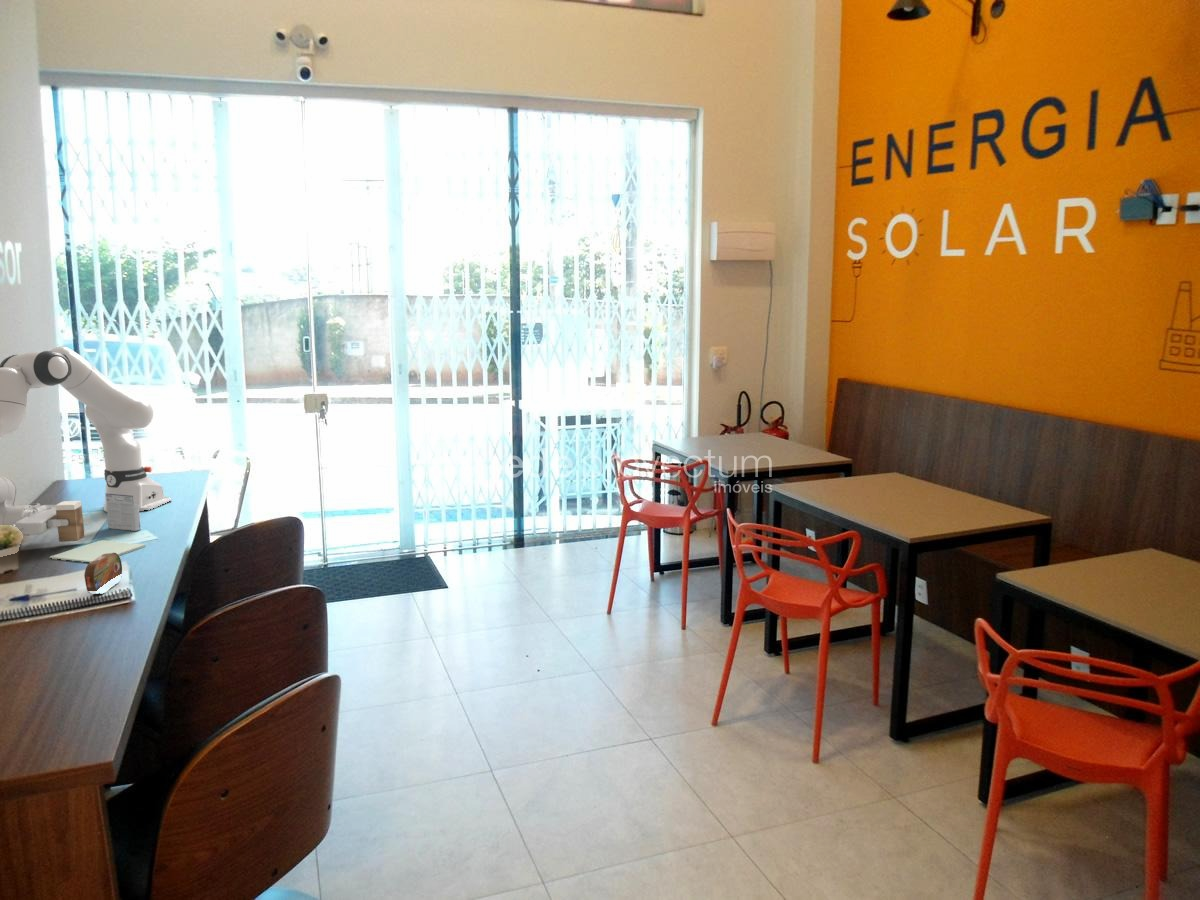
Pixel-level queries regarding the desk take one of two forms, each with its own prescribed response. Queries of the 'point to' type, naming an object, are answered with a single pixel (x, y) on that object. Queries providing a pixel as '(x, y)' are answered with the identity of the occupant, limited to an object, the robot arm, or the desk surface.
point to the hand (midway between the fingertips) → (73, 519)
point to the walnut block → (74, 514)
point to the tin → (102, 571)
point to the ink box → (122, 512)
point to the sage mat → (97, 550)
